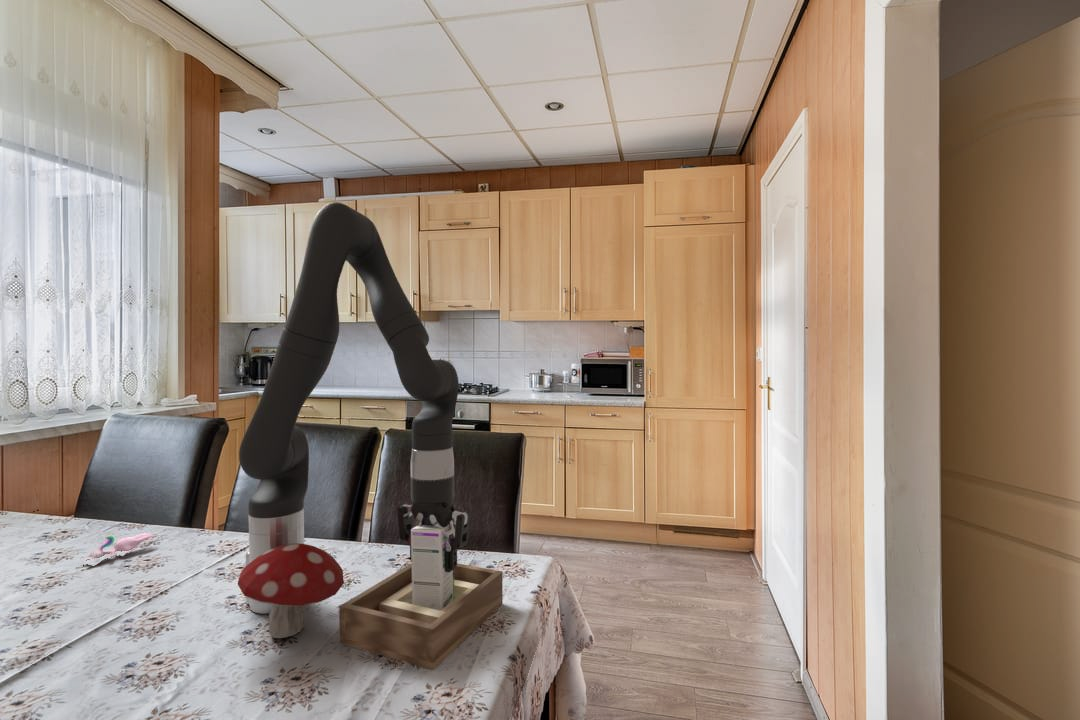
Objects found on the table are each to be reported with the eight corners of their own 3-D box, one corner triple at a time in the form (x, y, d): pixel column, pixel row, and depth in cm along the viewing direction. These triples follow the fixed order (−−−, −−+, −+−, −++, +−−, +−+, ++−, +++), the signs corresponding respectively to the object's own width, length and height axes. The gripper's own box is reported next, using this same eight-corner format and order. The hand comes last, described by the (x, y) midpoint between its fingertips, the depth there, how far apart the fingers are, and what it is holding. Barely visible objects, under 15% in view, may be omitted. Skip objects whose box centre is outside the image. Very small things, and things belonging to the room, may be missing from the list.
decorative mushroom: (333, 602, 98) (332, 522, 98) (355, 641, 85) (354, 549, 84) (234, 627, 89) (233, 540, 89) (242, 675, 76) (241, 572, 76)
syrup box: (443, 614, 89) (442, 529, 89) (410, 611, 90) (410, 527, 90) (454, 599, 95) (454, 519, 94) (424, 595, 96) (424, 517, 96)
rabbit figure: (88, 577, 113) (163, 543, 126) (82, 552, 112) (158, 520, 125) (74, 572, 115) (149, 539, 128) (68, 547, 114) (144, 516, 128)
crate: (339, 643, 84) (339, 606, 84) (422, 586, 104) (422, 556, 104) (433, 669, 77) (432, 629, 77) (502, 603, 97) (502, 571, 97)
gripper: (478, 472, 93) (479, 565, 93) (412, 465, 98) (412, 553, 99) (455, 481, 86) (456, 583, 86) (385, 474, 92) (386, 569, 92)
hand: (433, 567), depth 92 cm, fingers closed on syrup box, 6 cm apart
